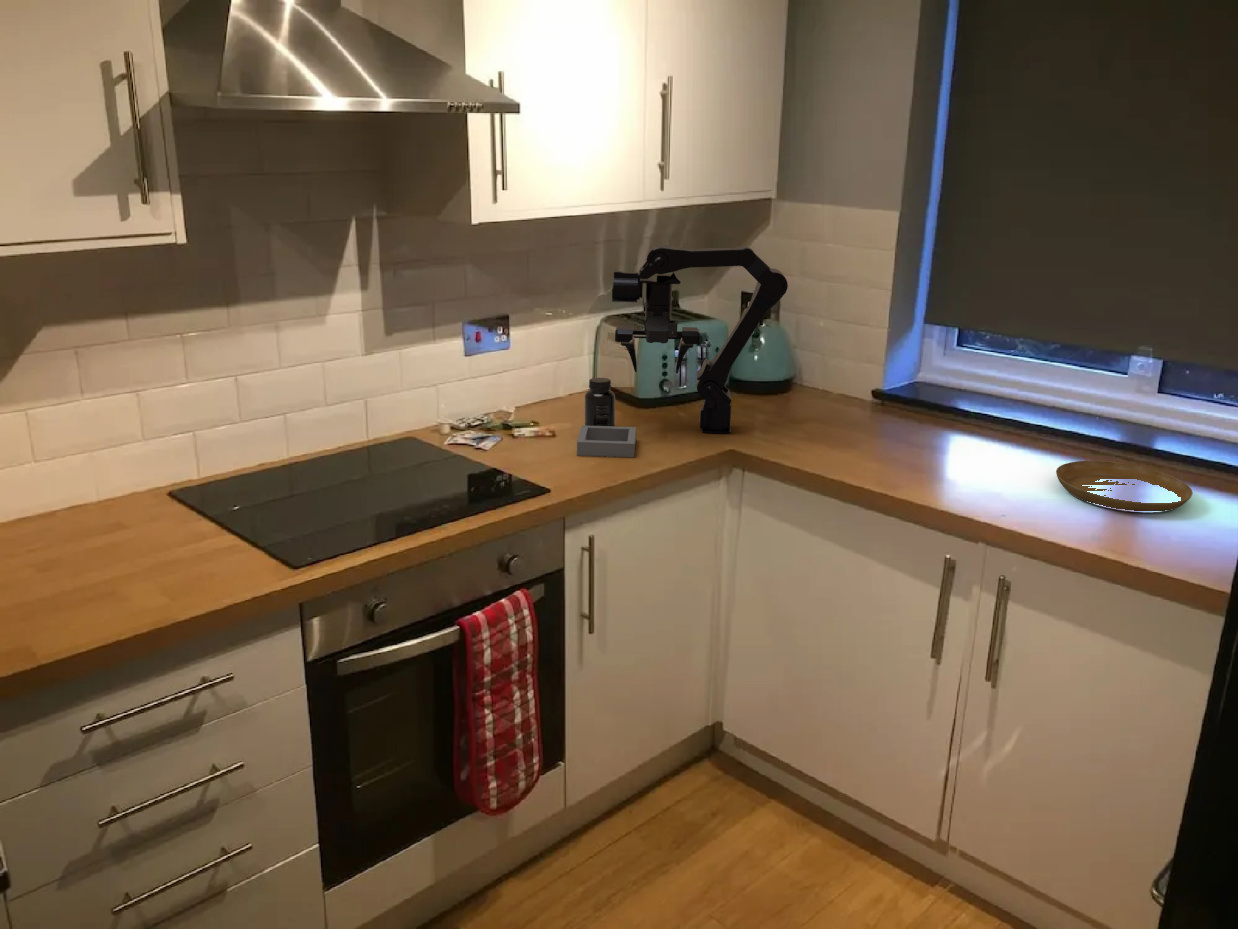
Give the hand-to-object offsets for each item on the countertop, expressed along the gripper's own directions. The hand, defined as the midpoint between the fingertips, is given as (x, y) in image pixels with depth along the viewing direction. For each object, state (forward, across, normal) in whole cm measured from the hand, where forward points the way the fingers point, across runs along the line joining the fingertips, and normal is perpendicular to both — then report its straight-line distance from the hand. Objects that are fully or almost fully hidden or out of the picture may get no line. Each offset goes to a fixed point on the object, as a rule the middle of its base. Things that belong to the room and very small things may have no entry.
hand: (656, 372), depth 236 cm
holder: (+13, -10, -16) cm, 23 cm away
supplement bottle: (+13, -12, -4) cm, 19 cm away
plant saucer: (+14, +91, -35) cm, 98 cm away
